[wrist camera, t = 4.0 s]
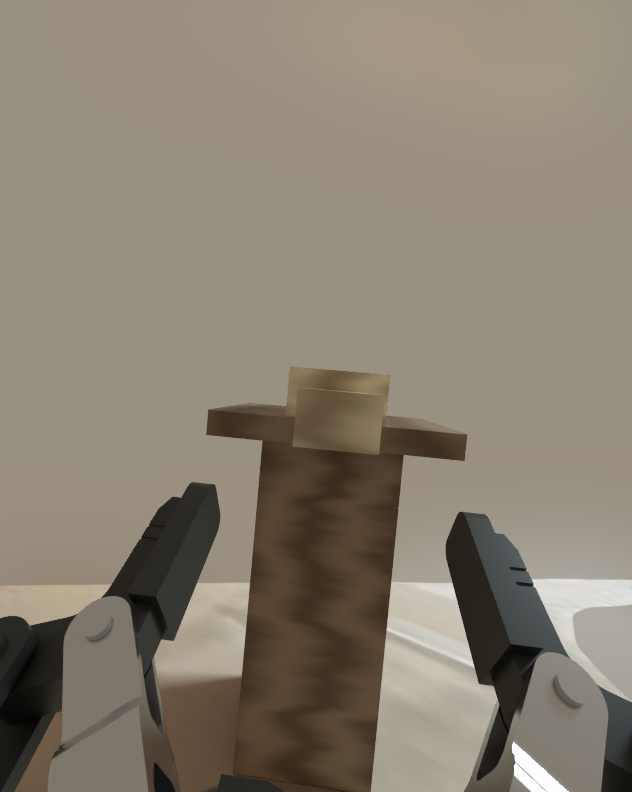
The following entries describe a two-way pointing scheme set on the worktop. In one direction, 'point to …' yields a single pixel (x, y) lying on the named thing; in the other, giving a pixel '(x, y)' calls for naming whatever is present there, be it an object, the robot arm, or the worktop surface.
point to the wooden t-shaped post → (319, 596)
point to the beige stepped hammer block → (337, 409)
